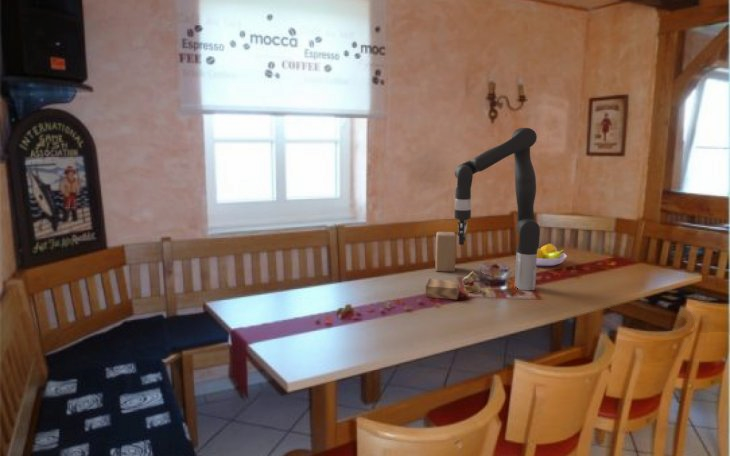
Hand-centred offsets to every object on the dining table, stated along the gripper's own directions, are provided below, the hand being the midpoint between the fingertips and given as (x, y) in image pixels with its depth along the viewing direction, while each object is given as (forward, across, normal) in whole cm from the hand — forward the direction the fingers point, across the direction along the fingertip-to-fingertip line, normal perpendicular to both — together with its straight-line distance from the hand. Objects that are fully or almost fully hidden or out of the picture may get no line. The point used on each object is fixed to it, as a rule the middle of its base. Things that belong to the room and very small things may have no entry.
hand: (462, 242), depth 245 cm
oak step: (+22, -12, +8) cm, 26 cm away
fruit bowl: (+24, +60, -40) cm, 76 cm away
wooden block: (+22, +32, +11) cm, 40 cm away
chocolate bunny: (+22, -4, -5) cm, 23 cm away
